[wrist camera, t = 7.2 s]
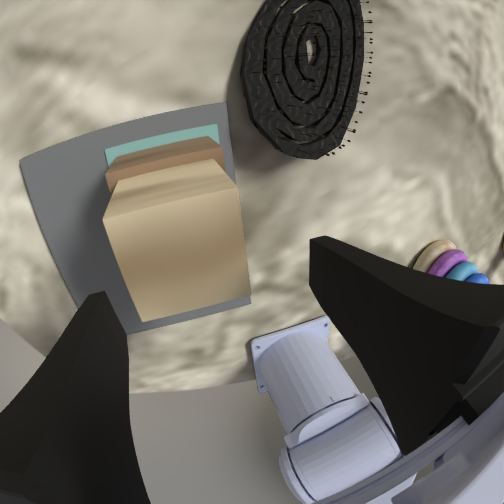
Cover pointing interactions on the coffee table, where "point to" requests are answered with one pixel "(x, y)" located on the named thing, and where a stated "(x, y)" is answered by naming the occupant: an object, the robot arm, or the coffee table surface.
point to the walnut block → (163, 158)
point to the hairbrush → (304, 74)
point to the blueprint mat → (98, 197)
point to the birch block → (179, 239)
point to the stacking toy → (448, 263)
